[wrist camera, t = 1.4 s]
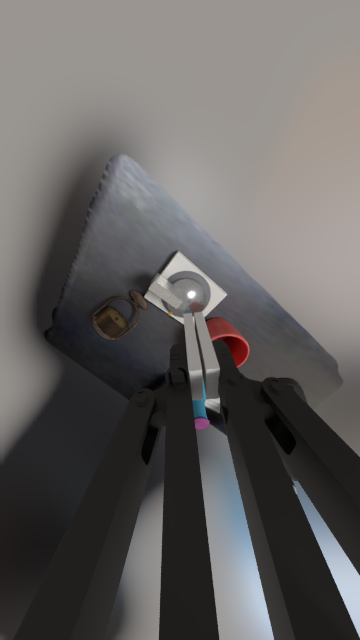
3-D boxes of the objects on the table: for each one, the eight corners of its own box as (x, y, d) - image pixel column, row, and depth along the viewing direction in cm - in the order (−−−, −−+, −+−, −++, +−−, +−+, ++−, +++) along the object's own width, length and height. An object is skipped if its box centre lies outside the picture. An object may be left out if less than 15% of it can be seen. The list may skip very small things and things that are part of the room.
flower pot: (188, 339, 44) (191, 366, 36) (206, 306, 39) (215, 328, 31) (221, 349, 46) (232, 377, 38) (243, 319, 41) (260, 343, 33)
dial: (213, 294, 35) (220, 308, 29) (187, 319, 38) (190, 337, 32) (168, 256, 31) (166, 264, 25) (144, 289, 34) (137, 303, 28)
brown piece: (74, 307, 32) (94, 349, 35) (131, 293, 30) (147, 340, 33) (96, 299, 39) (111, 335, 42) (143, 287, 37) (156, 327, 40)
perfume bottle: (196, 388, 55) (203, 438, 42) (174, 378, 52) (174, 429, 39) (214, 373, 51) (227, 423, 39) (191, 362, 49) (198, 411, 36)
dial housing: (224, 291, 37) (227, 295, 35) (190, 325, 42) (191, 330, 40) (178, 250, 32) (178, 252, 30) (145, 293, 37) (143, 297, 35)
